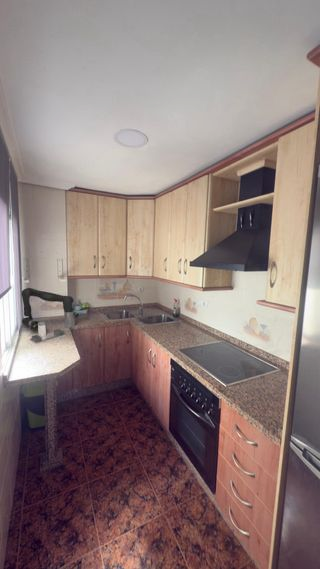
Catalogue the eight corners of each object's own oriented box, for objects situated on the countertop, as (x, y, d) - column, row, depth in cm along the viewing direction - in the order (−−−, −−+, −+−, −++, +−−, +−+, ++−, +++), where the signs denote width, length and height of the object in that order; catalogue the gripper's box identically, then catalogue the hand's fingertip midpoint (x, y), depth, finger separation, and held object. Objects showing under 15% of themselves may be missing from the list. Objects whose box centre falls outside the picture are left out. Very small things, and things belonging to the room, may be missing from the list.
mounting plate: (58, 332, 238) (58, 328, 238) (65, 335, 229) (65, 331, 229) (29, 340, 217) (29, 336, 216) (36, 344, 208) (35, 340, 207)
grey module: (43, 333, 235) (42, 321, 233) (45, 334, 232) (45, 322, 230) (38, 334, 231) (37, 323, 229) (40, 335, 228) (39, 324, 226)
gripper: (26, 322, 236) (33, 325, 225) (40, 319, 247) (47, 322, 236) (26, 329, 237) (33, 333, 227) (41, 325, 248) (48, 329, 237)
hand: (40, 327), depth 231 cm, fingers open, 8 cm apart
